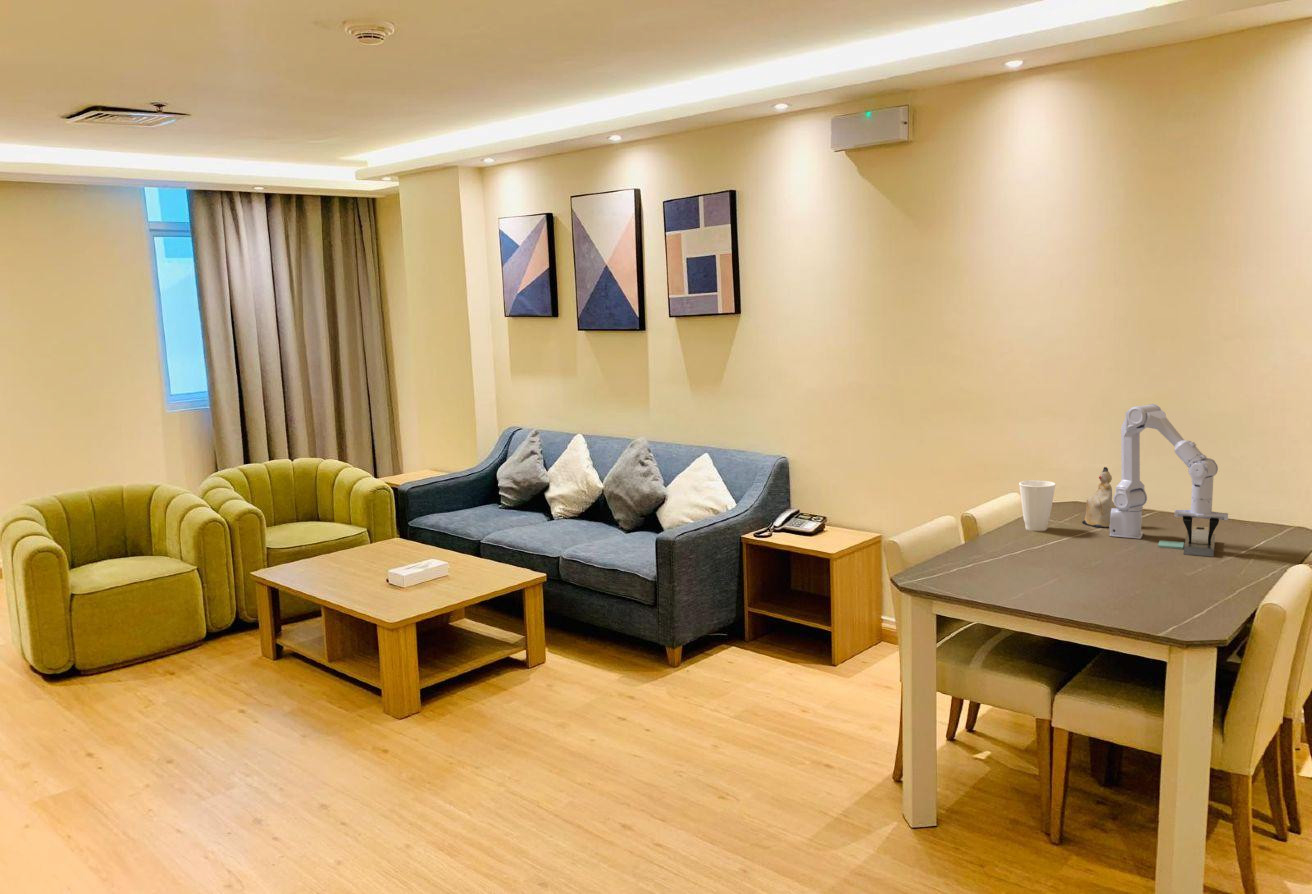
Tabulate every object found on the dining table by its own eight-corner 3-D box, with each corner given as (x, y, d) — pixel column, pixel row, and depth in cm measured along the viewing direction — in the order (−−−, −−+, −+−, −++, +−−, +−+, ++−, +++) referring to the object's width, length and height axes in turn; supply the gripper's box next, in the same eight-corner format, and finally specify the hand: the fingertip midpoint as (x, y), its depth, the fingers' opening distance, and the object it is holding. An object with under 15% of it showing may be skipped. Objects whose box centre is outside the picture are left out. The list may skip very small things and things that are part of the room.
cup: (1010, 527, 349) (1011, 482, 346) (1035, 523, 354) (1036, 478, 351) (1036, 534, 338) (1037, 487, 336) (1062, 529, 343) (1063, 484, 340)
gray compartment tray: (1183, 554, 307) (1184, 546, 307) (1186, 539, 325) (1187, 531, 324) (1213, 556, 303) (1213, 548, 303) (1215, 541, 321) (1215, 533, 320)
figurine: (1076, 522, 353) (1078, 466, 350) (1101, 519, 356) (1103, 464, 353) (1100, 529, 342) (1102, 471, 339) (1125, 526, 345) (1127, 469, 342)
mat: (1158, 547, 317) (1158, 545, 317) (1159, 541, 323) (1159, 540, 323) (1182, 549, 313) (1183, 547, 313) (1184, 544, 319) (1184, 542, 319)
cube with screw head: (1190, 551, 311) (1191, 528, 310) (1191, 547, 314) (1192, 525, 313) (1207, 552, 308) (1208, 529, 307) (1207, 549, 312) (1208, 526, 311)
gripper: (1174, 499, 309) (1172, 541, 311) (1228, 502, 302) (1226, 546, 304) (1175, 494, 315) (1174, 536, 317) (1228, 497, 308) (1226, 540, 310)
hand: (1199, 541), depth 311 cm, fingers closed on cube with screw head, 4 cm apart
